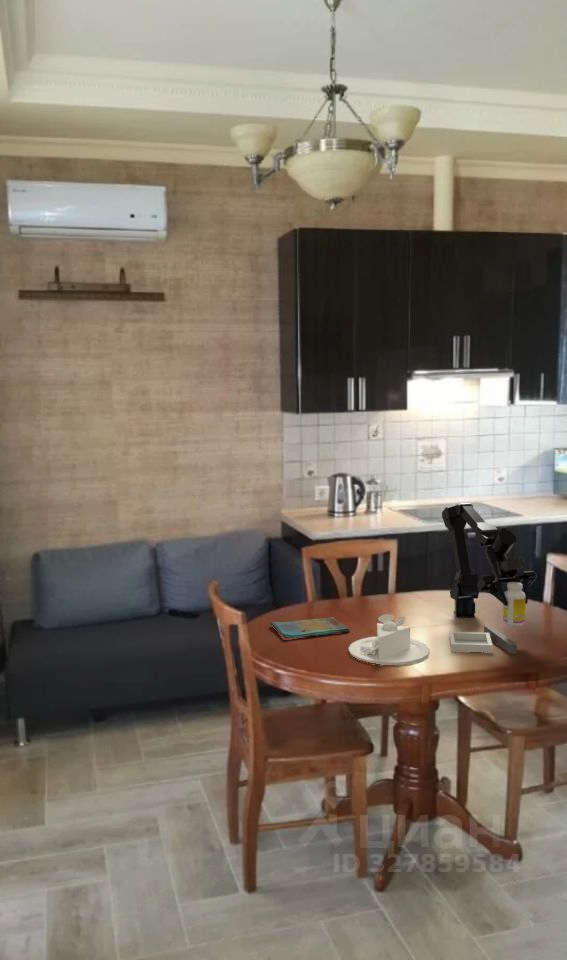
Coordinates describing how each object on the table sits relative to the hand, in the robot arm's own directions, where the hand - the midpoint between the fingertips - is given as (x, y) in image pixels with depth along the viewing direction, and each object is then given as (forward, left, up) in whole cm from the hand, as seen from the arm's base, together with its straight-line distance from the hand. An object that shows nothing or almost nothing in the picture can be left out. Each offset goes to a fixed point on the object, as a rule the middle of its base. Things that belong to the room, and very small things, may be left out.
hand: (516, 604), depth 248 cm
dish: (-40, -5, -14) cm, 43 cm away
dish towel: (-65, +18, -14) cm, 69 cm away
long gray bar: (-5, +2, -13) cm, 14 cm away
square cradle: (-14, 0, -13) cm, 19 cm away
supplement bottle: (-1, +1, -7) cm, 7 cm away
